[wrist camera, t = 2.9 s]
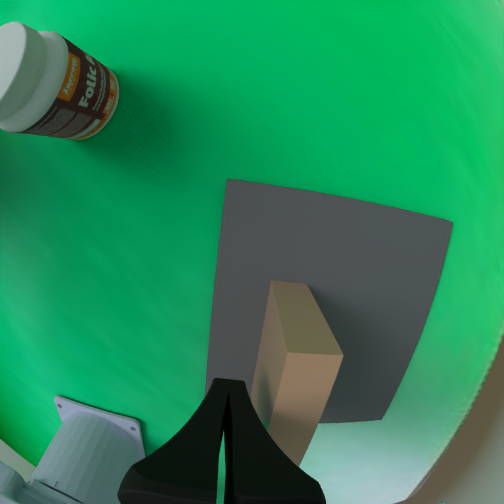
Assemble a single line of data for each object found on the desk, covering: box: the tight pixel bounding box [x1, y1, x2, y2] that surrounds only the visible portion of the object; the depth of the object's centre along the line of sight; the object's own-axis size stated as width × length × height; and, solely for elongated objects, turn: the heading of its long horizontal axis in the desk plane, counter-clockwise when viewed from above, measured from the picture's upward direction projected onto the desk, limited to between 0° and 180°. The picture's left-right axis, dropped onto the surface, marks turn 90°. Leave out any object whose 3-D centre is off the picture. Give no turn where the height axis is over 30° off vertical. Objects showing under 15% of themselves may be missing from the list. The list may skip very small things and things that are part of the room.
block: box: [251, 280, 344, 467], centre depth 14 cm, size 8×2×7 cm, turn 172°
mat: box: [205, 179, 453, 423], centre depth 17 cm, size 16×14×1 cm
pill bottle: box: [0, 22, 119, 140], centre depth 10 cm, size 5×5×8 cm
